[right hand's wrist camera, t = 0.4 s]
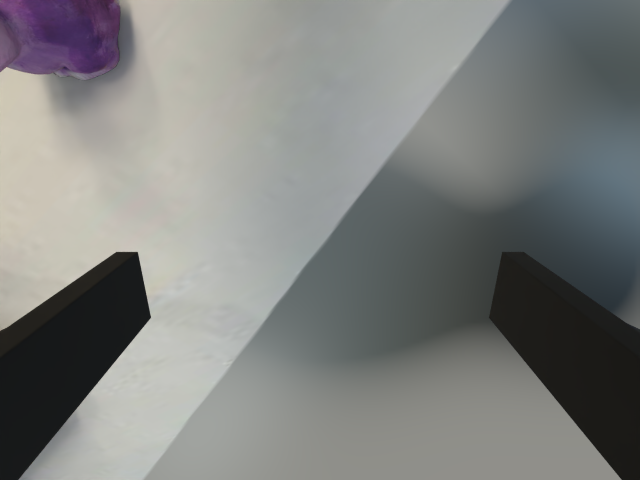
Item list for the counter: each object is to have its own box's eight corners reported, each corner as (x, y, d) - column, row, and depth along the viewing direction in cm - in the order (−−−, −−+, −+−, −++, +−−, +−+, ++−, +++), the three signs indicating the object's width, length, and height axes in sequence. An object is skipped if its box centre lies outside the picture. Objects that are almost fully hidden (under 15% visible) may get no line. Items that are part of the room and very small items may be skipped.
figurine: (34, 85, 35) (-153, 68, 21) (26, -32, 32) (-203, -145, 18) (127, 106, 36) (5, 103, 22) (130, -6, 33) (-13, -95, 19)
